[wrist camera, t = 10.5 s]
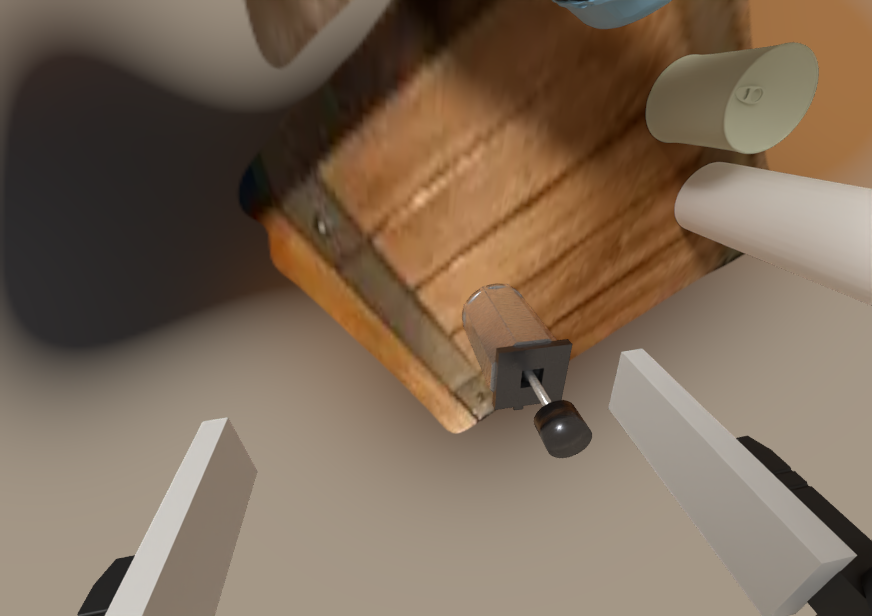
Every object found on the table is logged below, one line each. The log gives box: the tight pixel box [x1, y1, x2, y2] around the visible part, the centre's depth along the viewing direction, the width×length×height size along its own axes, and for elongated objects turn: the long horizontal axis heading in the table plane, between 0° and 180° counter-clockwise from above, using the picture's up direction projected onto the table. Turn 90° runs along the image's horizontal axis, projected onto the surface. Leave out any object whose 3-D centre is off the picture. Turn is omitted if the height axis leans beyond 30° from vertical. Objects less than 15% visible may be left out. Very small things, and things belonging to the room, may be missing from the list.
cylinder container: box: [674, 162, 872, 306], centre depth 38 cm, size 9×9×30 cm
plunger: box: [523, 370, 592, 458], centre depth 43 cm, size 7×7×20 cm
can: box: [646, 43, 819, 154], centre depth 39 cm, size 9×9×12 cm
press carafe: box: [462, 284, 572, 410], centre depth 49 cm, size 12×10×15 cm
